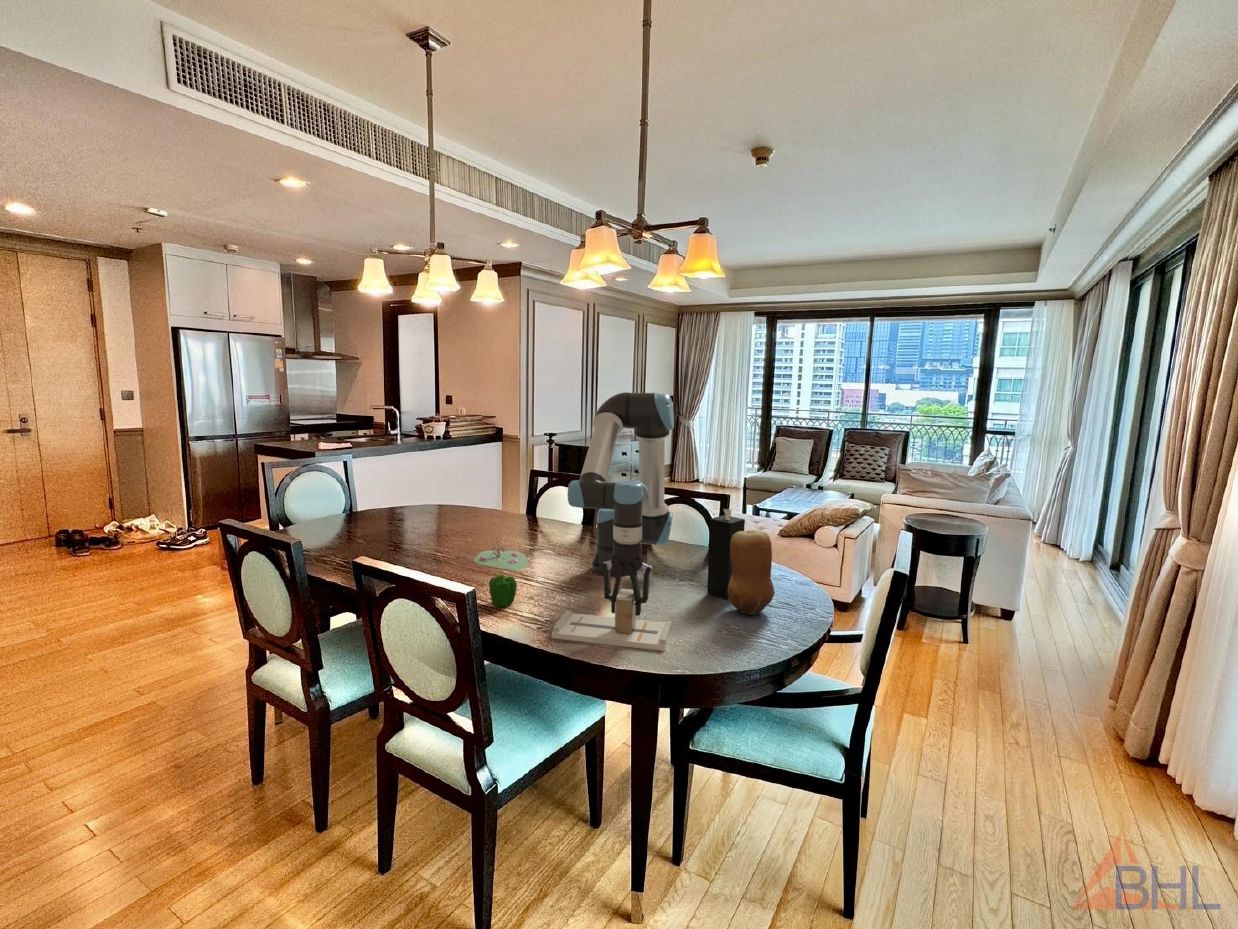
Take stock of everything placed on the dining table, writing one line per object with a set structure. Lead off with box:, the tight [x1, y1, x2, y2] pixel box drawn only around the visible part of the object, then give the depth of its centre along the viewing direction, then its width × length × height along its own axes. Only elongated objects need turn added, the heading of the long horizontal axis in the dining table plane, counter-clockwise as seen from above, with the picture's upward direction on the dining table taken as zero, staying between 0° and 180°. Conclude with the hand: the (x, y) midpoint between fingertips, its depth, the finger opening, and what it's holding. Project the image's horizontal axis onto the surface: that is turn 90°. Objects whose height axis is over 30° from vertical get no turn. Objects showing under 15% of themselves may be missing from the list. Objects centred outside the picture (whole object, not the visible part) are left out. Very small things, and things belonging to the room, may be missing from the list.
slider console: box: [551, 610, 673, 652], centre depth 160 cm, size 14×30×2 cm, turn 78°
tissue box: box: [706, 508, 746, 600], centre depth 189 cm, size 8×8×28 cm
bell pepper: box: [488, 572, 518, 608], centre depth 179 cm, size 8×8×10 cm
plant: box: [473, 536, 530, 572], centre depth 221 cm, size 25×21×9 cm
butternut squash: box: [728, 529, 776, 616], centre depth 174 cm, size 14×13×25 cm
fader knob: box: [616, 588, 635, 634], centre depth 158 cm, size 6×4×10 cm, turn 168°
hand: (625, 625), depth 159 cm, fingers closed on fader knob, 4 cm apart
